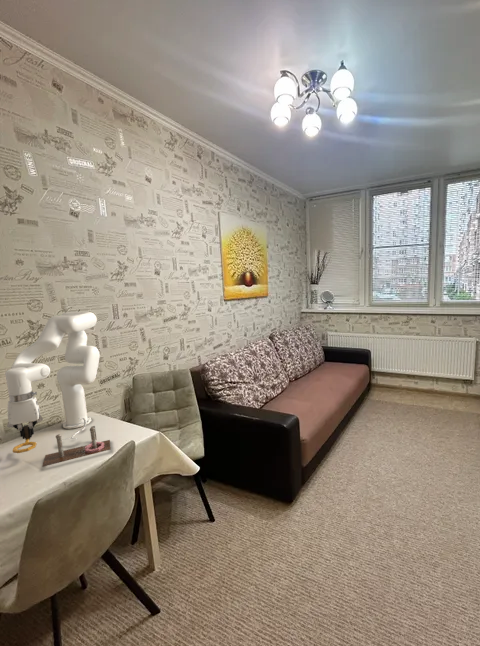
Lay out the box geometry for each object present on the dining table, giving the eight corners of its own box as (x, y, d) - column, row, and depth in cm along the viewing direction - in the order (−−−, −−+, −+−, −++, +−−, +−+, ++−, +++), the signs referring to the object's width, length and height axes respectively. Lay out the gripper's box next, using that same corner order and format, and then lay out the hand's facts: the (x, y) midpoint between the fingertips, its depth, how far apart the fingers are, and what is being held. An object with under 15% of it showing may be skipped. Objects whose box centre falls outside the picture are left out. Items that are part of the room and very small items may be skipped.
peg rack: (45, 458, 132) (41, 433, 130) (110, 442, 144) (107, 419, 142) (42, 470, 123) (38, 443, 121) (111, 452, 136) (108, 428, 134)
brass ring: (17, 442, 132) (15, 427, 131) (38, 437, 136) (36, 422, 135) (11, 454, 122) (8, 438, 121) (34, 449, 126) (32, 433, 125)
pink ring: (85, 442, 142) (83, 428, 140) (103, 438, 145) (101, 424, 144) (84, 454, 132) (82, 439, 131) (104, 449, 136) (102, 434, 134)
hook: (96, 425, 160) (76, 451, 141) (76, 426, 159) (54, 452, 140) (93, 413, 158) (72, 438, 139) (73, 414, 157) (50, 439, 138)
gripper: (45, 390, 137) (51, 429, 141) (-2, 397, 129) (5, 438, 132) (43, 395, 131) (49, 435, 134) (-6, 403, 123) (1, 445, 126)
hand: (27, 436), depth 133 cm, fingers closed on brass ring, 1 cm apart
